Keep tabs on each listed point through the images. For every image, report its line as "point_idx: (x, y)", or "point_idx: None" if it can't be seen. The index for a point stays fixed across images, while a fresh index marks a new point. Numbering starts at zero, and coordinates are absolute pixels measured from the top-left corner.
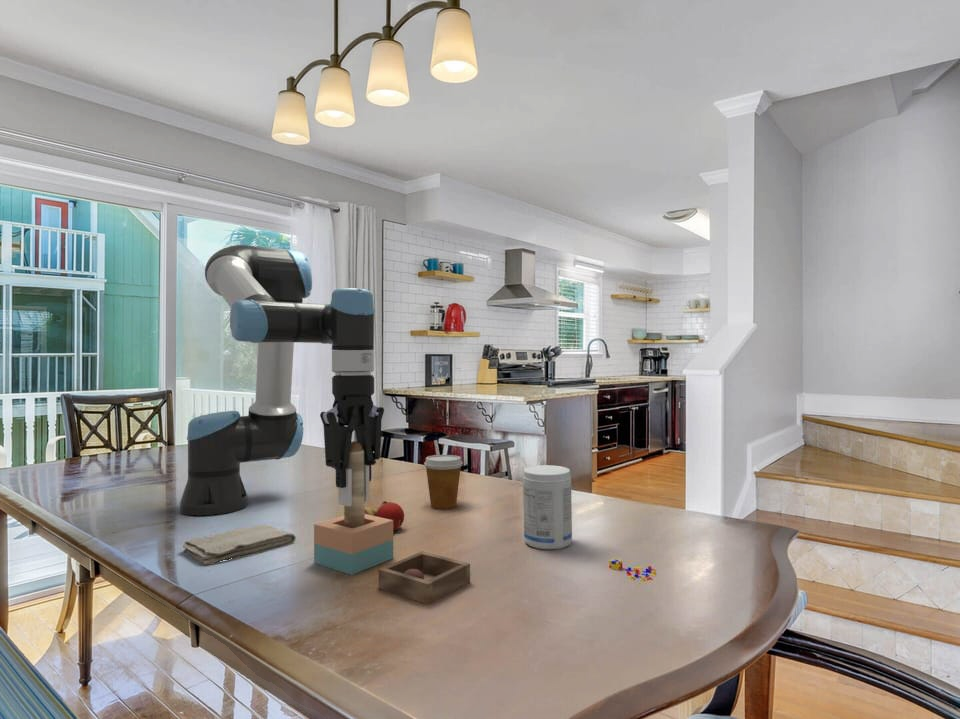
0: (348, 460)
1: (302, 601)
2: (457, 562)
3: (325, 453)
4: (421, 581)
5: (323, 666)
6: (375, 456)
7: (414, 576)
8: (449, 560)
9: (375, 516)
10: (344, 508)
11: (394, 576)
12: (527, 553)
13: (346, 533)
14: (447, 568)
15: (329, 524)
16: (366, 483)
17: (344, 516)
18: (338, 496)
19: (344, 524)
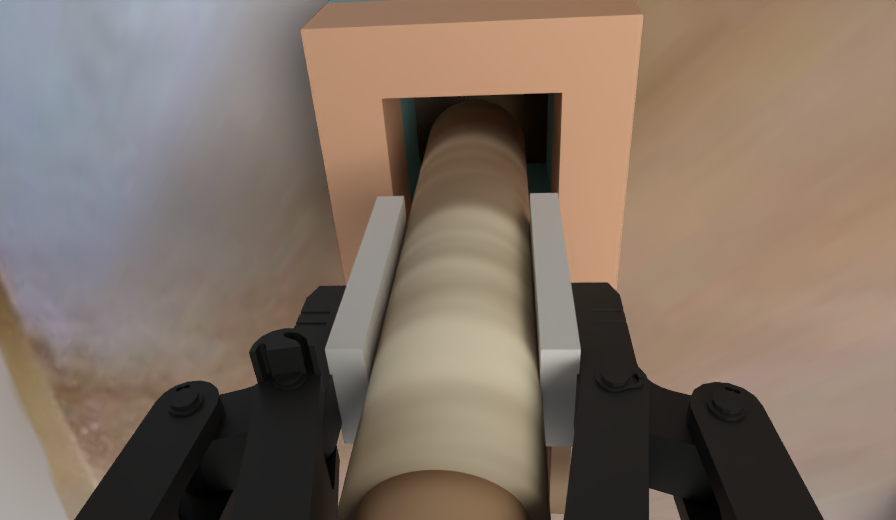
0: (336, 501)
1: (156, 246)
2: (554, 490)
3: (102, 485)
4: None
5: (89, 471)
6: (674, 499)
7: None
8: (555, 470)
9: (623, 186)
10: (415, 197)
11: None
12: (859, 482)
13: (344, 267)
14: (549, 447)
15: (359, 107)
16: None
17: (420, 175)
18: (368, 222)
19: (426, 153)
